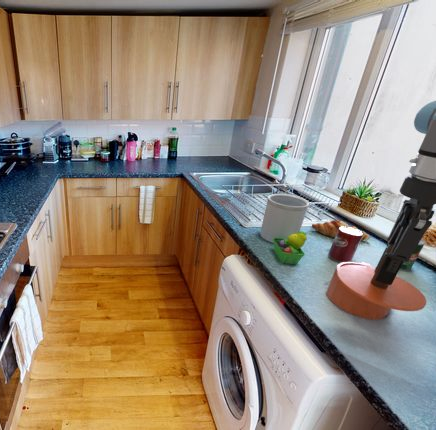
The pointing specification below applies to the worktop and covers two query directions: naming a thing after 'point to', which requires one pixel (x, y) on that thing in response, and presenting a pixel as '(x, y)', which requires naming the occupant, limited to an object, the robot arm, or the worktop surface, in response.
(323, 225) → the croissant
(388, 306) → the lid
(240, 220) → the worktop surface
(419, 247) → the canned tomato
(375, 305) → the pot
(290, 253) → the fruit basket
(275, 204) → the utensil holder
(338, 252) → the soda can
